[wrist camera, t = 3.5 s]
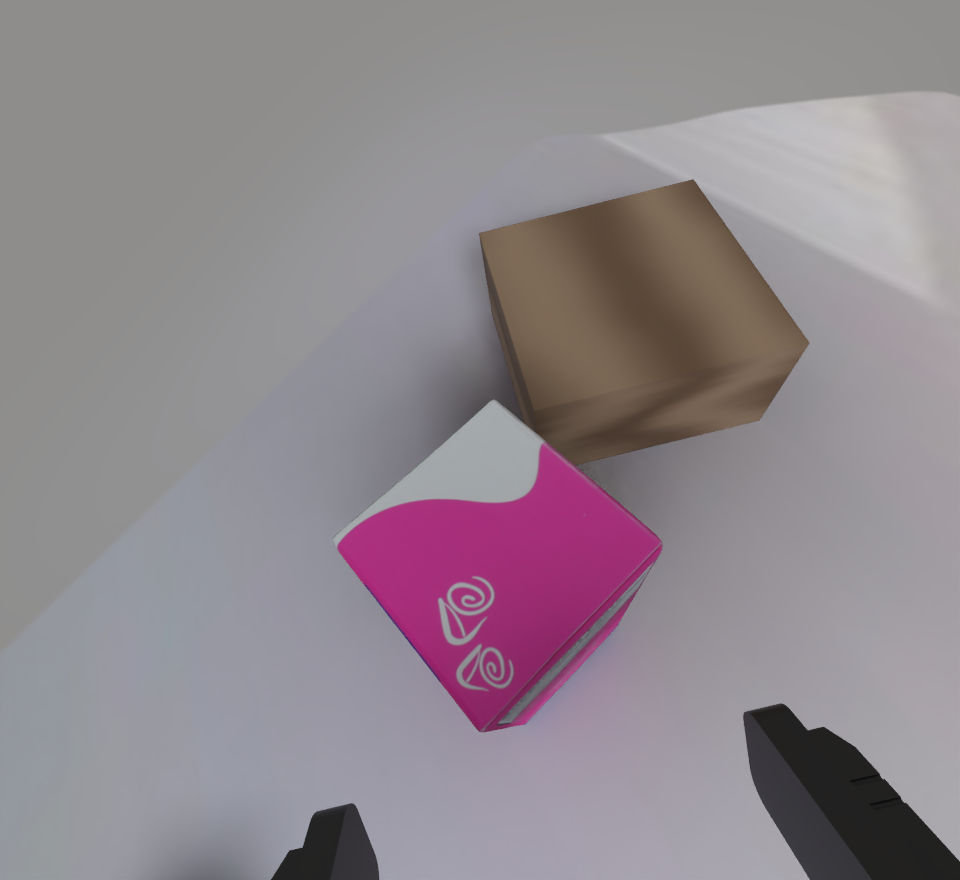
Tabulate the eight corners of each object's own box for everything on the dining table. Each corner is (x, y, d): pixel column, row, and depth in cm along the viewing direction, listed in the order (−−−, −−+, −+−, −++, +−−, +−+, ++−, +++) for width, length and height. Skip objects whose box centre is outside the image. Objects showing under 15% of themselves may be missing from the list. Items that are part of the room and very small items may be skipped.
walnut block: (539, 476, 25) (534, 410, 20) (492, 316, 31) (479, 233, 26) (757, 423, 25) (809, 342, 20) (670, 272, 30) (693, 179, 25)
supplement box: (427, 619, 22) (321, 531, 12) (524, 528, 24) (499, 384, 14) (520, 734, 20) (479, 739, 10) (623, 624, 21) (679, 530, 11)
